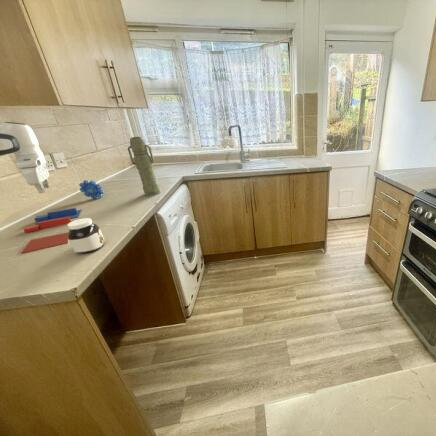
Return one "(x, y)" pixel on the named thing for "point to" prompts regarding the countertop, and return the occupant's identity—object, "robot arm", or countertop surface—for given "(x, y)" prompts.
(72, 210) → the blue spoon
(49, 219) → the slate-blue mat
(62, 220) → the red stepped bar
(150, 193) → the thermos
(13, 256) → the countertop surface
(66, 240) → the terracotta mat
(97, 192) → the blue gear
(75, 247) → the spread jar
